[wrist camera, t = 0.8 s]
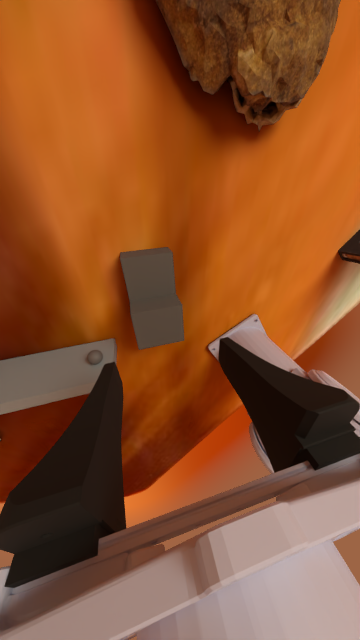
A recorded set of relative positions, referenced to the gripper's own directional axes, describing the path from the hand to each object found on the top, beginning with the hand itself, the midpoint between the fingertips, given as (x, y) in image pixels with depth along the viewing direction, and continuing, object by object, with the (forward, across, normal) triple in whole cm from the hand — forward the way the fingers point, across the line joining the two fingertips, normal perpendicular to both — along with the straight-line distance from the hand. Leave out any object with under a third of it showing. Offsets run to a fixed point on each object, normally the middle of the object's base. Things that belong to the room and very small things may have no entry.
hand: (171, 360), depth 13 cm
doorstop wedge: (+10, 0, -1) cm, 10 cm away
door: (+9, +12, +4) cm, 16 cm away
